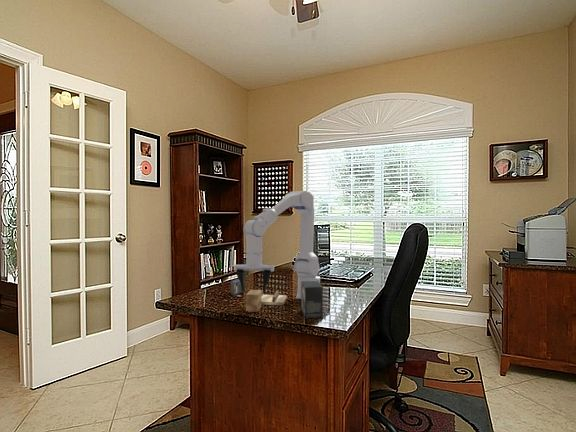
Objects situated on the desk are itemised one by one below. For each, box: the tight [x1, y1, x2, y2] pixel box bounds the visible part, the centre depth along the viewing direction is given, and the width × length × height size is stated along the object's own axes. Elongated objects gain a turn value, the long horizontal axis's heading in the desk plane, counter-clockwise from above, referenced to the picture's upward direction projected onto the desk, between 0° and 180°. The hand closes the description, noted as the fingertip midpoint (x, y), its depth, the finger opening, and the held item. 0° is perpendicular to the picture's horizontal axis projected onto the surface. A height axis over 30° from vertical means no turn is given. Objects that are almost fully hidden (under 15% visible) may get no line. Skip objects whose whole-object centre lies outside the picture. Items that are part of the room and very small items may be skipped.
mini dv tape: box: [230, 278, 246, 296], centre depth 150 cm, size 8×2×6 cm, turn 152°
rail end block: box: [245, 289, 262, 313], centre depth 125 cm, size 4×8×6 cm, turn 174°
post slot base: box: [261, 290, 288, 306], centre depth 137 cm, size 14×12×3 cm
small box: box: [300, 281, 324, 319], centre depth 119 cm, size 11×6×10 cm, turn 5°
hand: (253, 290), depth 125 cm, fingers open, 7 cm apart
